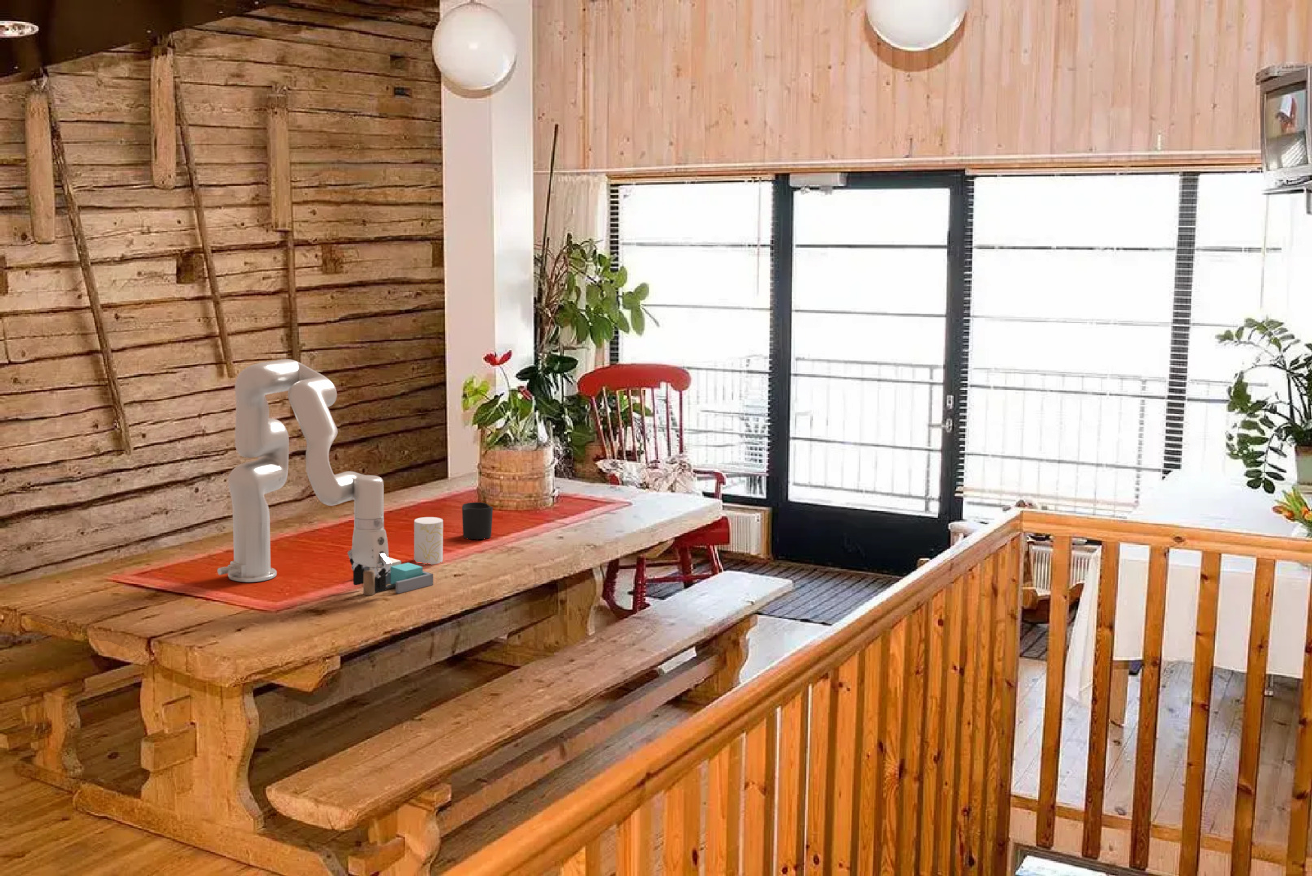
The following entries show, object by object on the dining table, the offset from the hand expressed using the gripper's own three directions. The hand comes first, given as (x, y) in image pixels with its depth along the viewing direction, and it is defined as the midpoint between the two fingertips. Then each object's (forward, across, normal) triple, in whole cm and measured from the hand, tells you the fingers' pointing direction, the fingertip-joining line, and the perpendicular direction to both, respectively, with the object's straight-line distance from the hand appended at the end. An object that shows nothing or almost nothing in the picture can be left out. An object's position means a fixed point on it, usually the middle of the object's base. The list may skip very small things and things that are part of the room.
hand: (369, 587), depth 342 cm
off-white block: (+2, +9, -12) cm, 16 cm away
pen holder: (+2, +26, -62) cm, 67 cm away
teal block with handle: (+2, 0, -7) cm, 7 cm away
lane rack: (+2, +5, -12) cm, 13 cm away
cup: (+2, +15, -32) cm, 36 cm away
